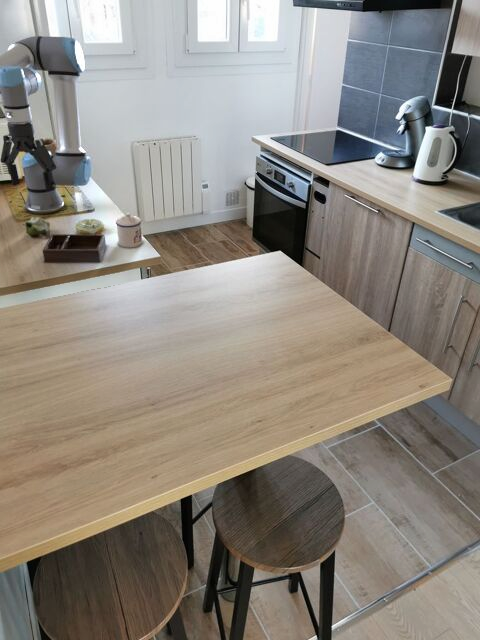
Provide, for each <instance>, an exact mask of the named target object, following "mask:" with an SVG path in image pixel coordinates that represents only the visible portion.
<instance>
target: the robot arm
mask: <svg viewBox="0 0 480 640" xmlns="http://www.w3.org/2000/svg"><path fill="white" fill-rule="evenodd" d="M85 67H86V65H85V58H84V54H83V50H82V47H81V45H80V43H79V42H78V40H77V39H76V38H73V37H68V36H41V35H34V36H33V35H32V36H28V37H26V38H22V39H20V40H18V41H16V42H14V43H12V44H11V45H9V47H8V48H7V50H6V51H5V52H4V53H2V54H0V96H1V100H2V105H3V110H4V114H5V115H4V116H5V119H6V121H7V129H8V134H5V135H3V136H2V137H3V138H2V140H3V144H2V149H1V155H0V163H1V164H5V165H6V167H7V173H8V175H9V176H10V180H11V184H12V186H13V187H15V186H18V185H19V184H20V183H21V182H20V177H19V172H18V169H17V168H18V167H17V164H16V163H15V161H16V159H17V157H18V155H19V153H25V154H23V155H22V157H21V168H22V172H23V177H24V181H25V185H26V191H27V193H26V199H25V209H26V212H28V213H29V214H34V215H50V214H55V213H58V212H60V211H61V210H63V209H64V208H65V203H64V200H63V198H62V195H61V194H60V192H59V190H58V189H57V186H73V187H83V186H86V185H88V183H89V182H90V178H91V175H92V160H91V158H90V157H89V156H88V155H86V151H85V149H83V148H82V140H81V138H82V137H81V125H80V114H79V113H80V111H79V98H78V97H79V96H78V85H77V82H78V81H79V80H80V79H81V74H82V73H84V71H85ZM38 71H43V72H47V75H48V78H50V80H51V81H52V85H53V97H54V107H55V117H56V118H55V119H56V130H57V141H58V142H57V143H58V149H57V150H56V151H55V153H56V156H54V155H51V152H50V151H47V149H46V147H45V144H44V141H43V140H44V139H43V138H39V139H36V138H35V127H34V122H33V121H32V120H33V116H32V111H31V107H30V101H29V96H31V95H33V94H35V93H37V92H38V91H39V89H40V88H41V86H42V78H41V75H40V74H39V73H38Z"/></svg>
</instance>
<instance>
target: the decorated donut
mask: <svg viewBox="0 0 480 640" xmlns="http://www.w3.org/2000/svg"><path fill="white" fill-rule="evenodd" d="M74 228H75V231H76V232H77V233H78V234H79V235H100V234H101V233H103V232H104V230H105V224H104V222H103V221H101V220H100V219H96V218H84V219H81V220H78V221H77V222H76V223H75V224H74Z"/></svg>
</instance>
